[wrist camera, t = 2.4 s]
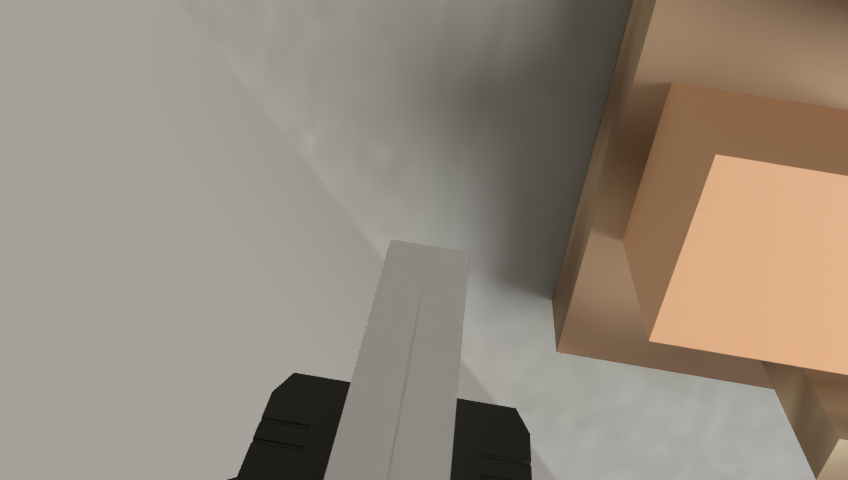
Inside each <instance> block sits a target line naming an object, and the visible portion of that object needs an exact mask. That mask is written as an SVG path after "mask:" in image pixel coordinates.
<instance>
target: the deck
mask: <svg viewBox="0 0 848 480" xmlns="http://www.w3.org/2000/svg"><path fill="white" fill-rule="evenodd" d="M672 82H674V83H680V84H686V85H692V86H698V87H704V88H711V89H717V90H723V91H729V92H735V93H741V94H747V95H753V96H760V97H766V98H772V99H778V100H784V101H790V102H796V103H802V104H809V105H815V106H821V107H827V108H833V109H839V110H845V111H848V0H633V3H632V7H631V10H630V14H629V18H628V21H627V25H626V29H625V33H624V36H623V40H622V44H621V48H620V51H619V55H618V59H617V62H616V66H615V70H614V74H613V77H612V81H611V85H610V88H609V92H608V96H607V100H606V103H605V107H604V111H603V114H602V118H601V122H600V126H599V129H598V133H597V137H596V141H595V144H594V148H593V152H592V155H591V159H590V163H589V167H588V170H587V174H586V178H585V181H584V185H583V189H582V193H581V196H580V200H579V204H578V207H577V211H576V215H575V219H574V222H573V226H572V230H571V233H570V237H569V241H568V245H567V248H566V252H565V256H564V260H563V263H562V267H561V271H560V274H559V278H558V282H557V286H556V289H555V293H554V297H553V300H552V305H553V316H554V328H555V340H556V351H557V352H560V353H566V354H572V355H578V356H584V357H590V358H595V359H601V360H607V361H613V362H619V363H625V364H630V365H636V366H642V367H648V368H654V369H660V370H666V371H671V372H677V373H683V374H689V375H695V376H701V377H706V378H712V379H718V380H724V381H730V382H736V383H741V384H747V385H753V386H759V387H765V388H771V389H775V392H776V394H777V396H778V398H779V400H780V402H781V405H782V407H783V409H784V411H785V413H786V415H787V418H788V420H789V422H790V424H791V426H792V428H793V430H794V433H795V435H796V437H797V439H798V441H799V443H800V446H801V448H802V450H803V452H804V454H805V456H806V459H807V461H808V463H809V465H810V467H811V469H812V472H813V474H814V476H815V478H816V480H848V375H845V374H839V373H833V372H827V371H821V370H816V369H810V368H804V367H798V366H792V365H786V364H780V363H775V362H769V361H763V360H757V359H751V358H745V357H739V356H733V355H728V354H722V353H716V352H710V351H704V350H698V349H692V348H687V347H681V346H675V345H669V344H663V343H657V342H651V341H649V340H648V336H647V333H646V329H645V325H644V321H643V317H642V314H641V310H640V306H639V302H638V299H637V295H636V291H635V287H634V283H633V280H632V276H631V272H630V268H629V265H628V261H627V257H626V253H625V249H624V246H623V242H622V240H623V237H624V234H625V231H626V228H627V224H628V221H629V218H630V215H631V212H632V208H633V205H634V202H635V199H636V195H637V192H638V189H639V186H640V183H641V179H642V176H643V173H644V170H645V166H646V163H647V160H648V157H649V154H650V150H651V147H652V144H653V141H654V137H655V134H656V131H657V128H658V125H659V121H660V118H661V115H662V112H663V109H664V105H665V102H666V99H667V96H668V92H669V89H670V86H671V83H672Z"/></svg>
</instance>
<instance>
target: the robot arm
mask: <svg viewBox="0 0 848 480" xmlns="http://www.w3.org/2000/svg"><path fill="white" fill-rule="evenodd" d="M468 261H469V252H463V251H457V250H451V249H445V248H439V247H433V246H427V245H421V244H415V243H409V242H403V241H397V240H391V241H390V244H389V248H388V252H387V255H386V259H385V262H384V266H383V269H382V273H381V276H380V280H379V284H378V287H377V291H376V294H375V298H374V301H373V305H372V309H371V312H370V316H369V319H368V323H367V326H366V330H365V334H364V337H363V341H362V344H361V348H360V351H359V355H358V359H357V362H356V366H355V369H354V373H353V376H352V380H351V382H346V381H340V380H333V379H328V378H322V377H316V376H310V375H304V374H299V373H293V374H292V375H291V376H290V377H289V378H288V379H287V380H285V381H284V382H283V383H282V384H281V385H280V386H279V387H277V388H276V389H275V390H274V391H273V392H272V394H271V396H270V399H269V401H268V404H267V406H266V408H265V411H264V413H263V416H262V420H261V422H260V423H259V425H258V428H257V430H256V432H255V435H254V437H253V442H252V443H251V444H250V447H249V449H248V452H247V454H246V456H245V459H244V461H243V464H242V466H241V469H240V471H239V473H238V476H237V477H236V478H232V479H228V480H532V474H531V466H530V463H531V450H530V433H529V431H528V430H527V428H526V426H525V424H524V422H523V421H522V419H521V417H520V415H519V413H518V412H517V410H516V408H511V407H505V406H499V405H493V404H487V403H481V402H475V401H469V400H464V399H458V398H457V391H458V380H459V368H460V356H461V344H462V332H463V320H464V309H465V297H466V285H467V273H468Z"/></svg>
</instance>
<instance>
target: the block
mask: <svg viewBox="0 0 848 480" xmlns="http://www.w3.org/2000/svg"><path fill="white" fill-rule="evenodd" d="M622 242H623V246H624V249H625V253H626V257H627V261H628V265H629V268H630V272H631V276H632V280H633V283H634V287H635V291H636V295H637V299H638V302H639V306H640V310H641V314H642V317H643V321H644V325H645V329H646V333H647V336H648V340H649V341H651V342H657V343H663V344H669V345H675V346H681V347H687V348H692V349H698V350H704V351H710V352H716V353H722V354H728V355H733V356H739V357H745V358H751V359H757V360H763V361H769V362H775V363H780V364H786V365H792V366H798V367H804V368H810V369H816V370H821V371H827V372H833V373H839V374H845V375H848V111H845V110H839V109H833V108H827V107H821V106H815V105H809V104H802V103H796V102H790V101H784V100H778V99H772V98H766V97H760V96H753V95H747V94H741V93H735V92H729V91H723V90H717V89H711V88H704V87H698V86H692V85H686V84H680V83H674V82H672V83H671V86H670V89H669V92H668V96H667V99H666V102H665V105H664V109H663V112H662V115H661V118H660V121H659V125H658V128H657V131H656V134H655V137H654V141H653V144H652V147H651V150H650V154H649V157H648V160H647V163H646V166H645V170H644V173H643V176H642V179H641V183H640V186H639V189H638V192H637V195H636V199H635V202H634V205H633V208H632V212H631V215H630V218H629V221H628V224H627V228H626V231H625V234H624V237H623V240H622Z"/></svg>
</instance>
